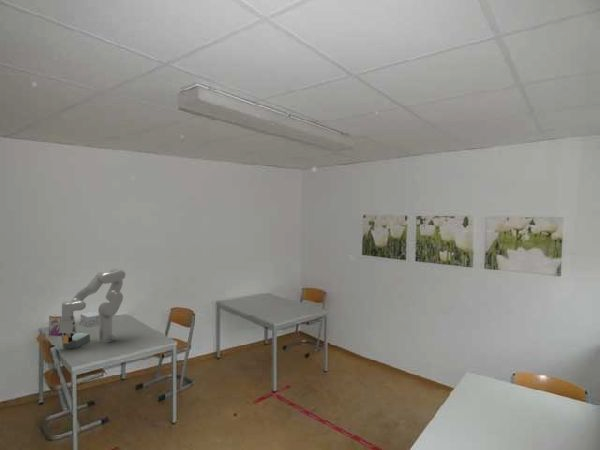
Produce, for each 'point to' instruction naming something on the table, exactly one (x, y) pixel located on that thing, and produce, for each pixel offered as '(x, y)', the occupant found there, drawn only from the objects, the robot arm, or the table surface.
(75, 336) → the tool with wooden handle
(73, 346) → the tub
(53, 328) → the candy bar box
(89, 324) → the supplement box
